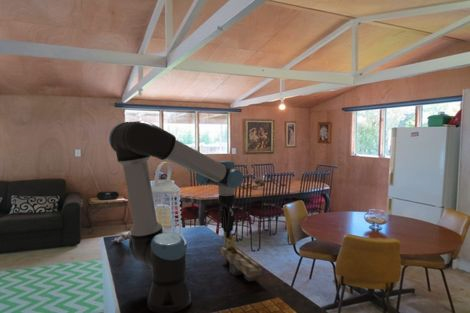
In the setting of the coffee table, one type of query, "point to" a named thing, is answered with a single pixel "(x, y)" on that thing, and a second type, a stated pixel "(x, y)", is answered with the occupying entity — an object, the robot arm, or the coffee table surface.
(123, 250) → the coffee table surface
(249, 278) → the stand
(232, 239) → the rider
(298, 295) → the coffee table surface
